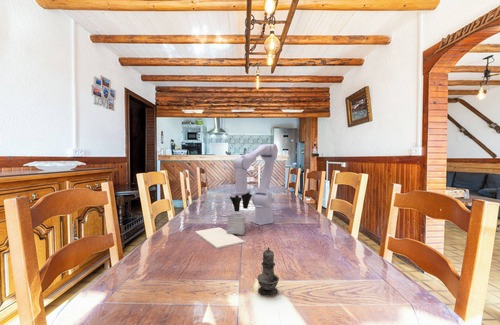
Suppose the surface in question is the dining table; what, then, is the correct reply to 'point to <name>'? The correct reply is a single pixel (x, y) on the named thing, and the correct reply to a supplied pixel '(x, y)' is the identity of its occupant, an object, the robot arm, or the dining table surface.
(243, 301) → the dining table surface
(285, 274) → the dining table surface
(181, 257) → the dining table surface
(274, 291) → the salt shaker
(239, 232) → the medicine box
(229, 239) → the mat
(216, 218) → the dining table surface
